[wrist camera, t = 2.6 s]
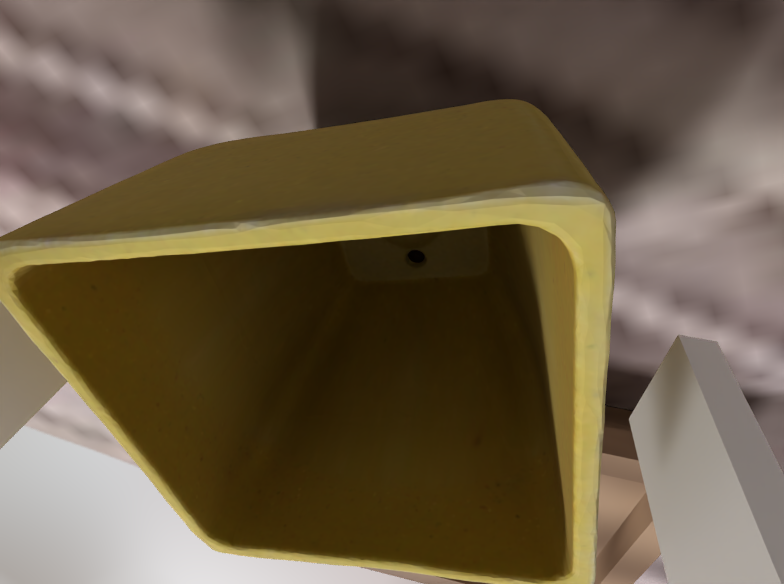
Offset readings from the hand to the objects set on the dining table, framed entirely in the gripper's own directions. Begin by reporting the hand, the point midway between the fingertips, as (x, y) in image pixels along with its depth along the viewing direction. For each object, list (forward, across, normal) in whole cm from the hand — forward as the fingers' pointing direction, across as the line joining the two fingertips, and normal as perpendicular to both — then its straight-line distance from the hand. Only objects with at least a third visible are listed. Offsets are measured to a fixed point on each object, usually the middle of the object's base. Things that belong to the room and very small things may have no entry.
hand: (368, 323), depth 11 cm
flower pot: (+5, 0, +1) cm, 5 cm away
